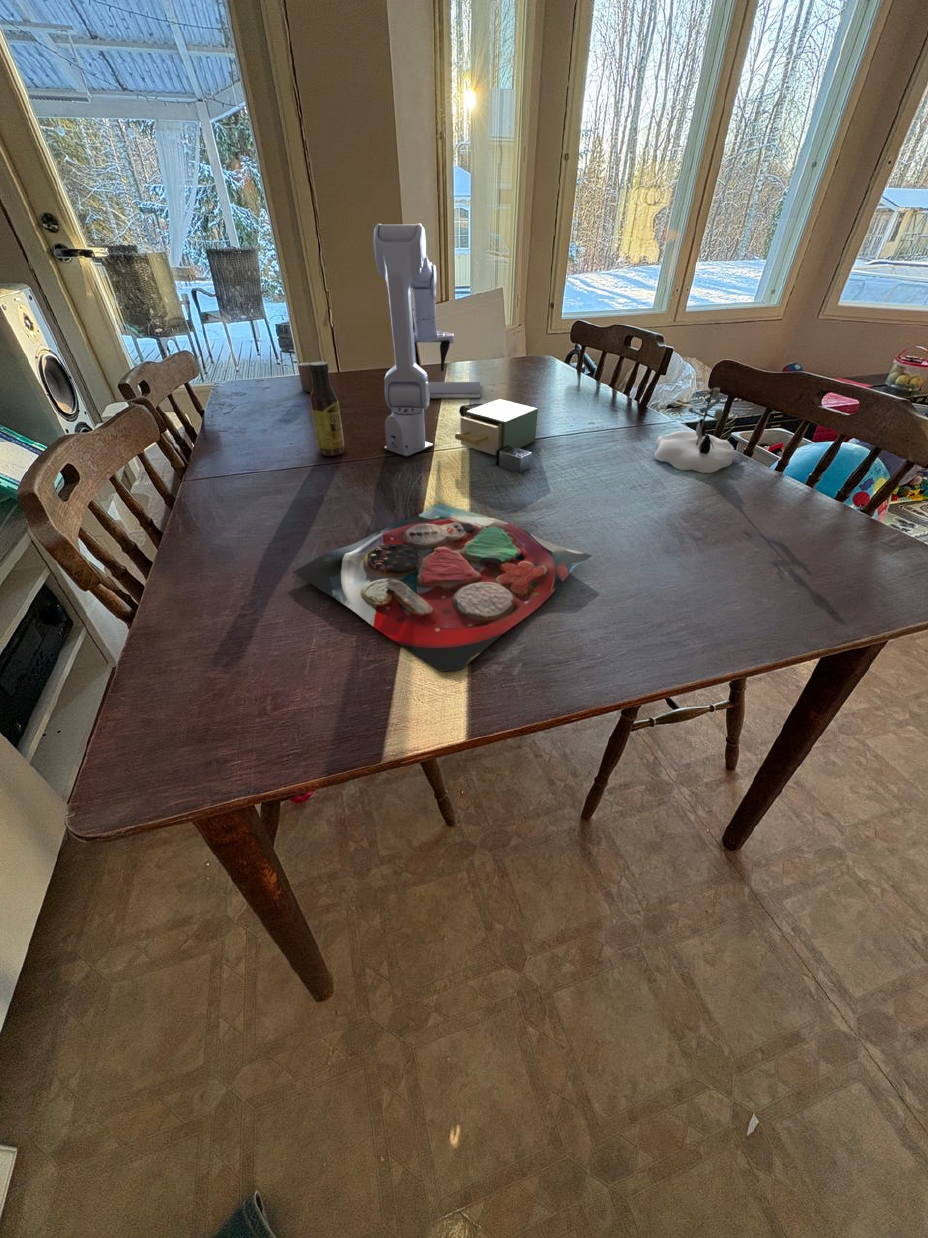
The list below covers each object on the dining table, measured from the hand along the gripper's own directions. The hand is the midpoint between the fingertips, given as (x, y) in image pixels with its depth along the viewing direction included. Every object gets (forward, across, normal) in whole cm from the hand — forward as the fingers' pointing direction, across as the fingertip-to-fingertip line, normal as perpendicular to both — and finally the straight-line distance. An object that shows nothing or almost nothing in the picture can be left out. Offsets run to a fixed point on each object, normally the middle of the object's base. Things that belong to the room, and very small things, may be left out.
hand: (429, 369), depth 144 cm
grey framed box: (+4, -23, +43) cm, 49 cm away
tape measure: (+9, -13, +11) cm, 19 cm away
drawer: (+5, -17, +32) cm, 37 cm away
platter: (-3, -11, +86) cm, 87 cm away
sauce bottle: (+5, +21, +36) cm, 42 cm away
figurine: (+6, -66, +35) cm, 75 cm away
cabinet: (+6, -20, +28) cm, 36 cm away
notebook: (+13, -4, -14) cm, 20 cm away
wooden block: (+13, +41, -15) cm, 45 cm away
